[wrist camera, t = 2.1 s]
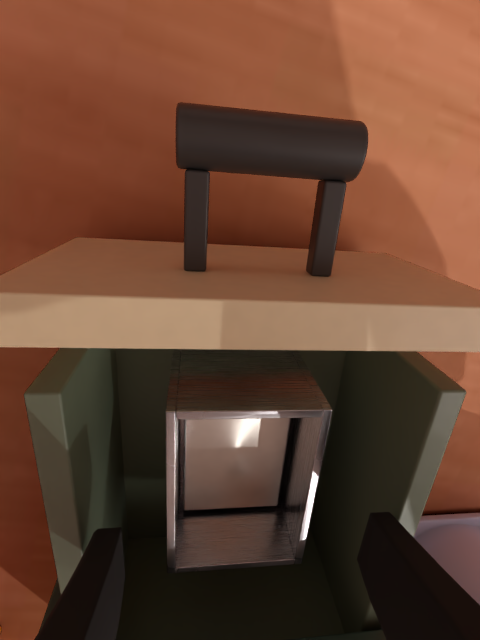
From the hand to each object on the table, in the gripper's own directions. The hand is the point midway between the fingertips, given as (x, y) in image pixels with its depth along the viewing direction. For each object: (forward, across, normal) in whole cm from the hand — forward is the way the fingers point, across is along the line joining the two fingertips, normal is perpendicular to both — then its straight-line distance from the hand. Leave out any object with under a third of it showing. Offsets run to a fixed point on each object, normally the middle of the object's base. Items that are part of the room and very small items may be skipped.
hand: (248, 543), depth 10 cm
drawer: (+7, 0, -2) cm, 7 cm away
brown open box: (+6, 0, 0) cm, 6 cm away
